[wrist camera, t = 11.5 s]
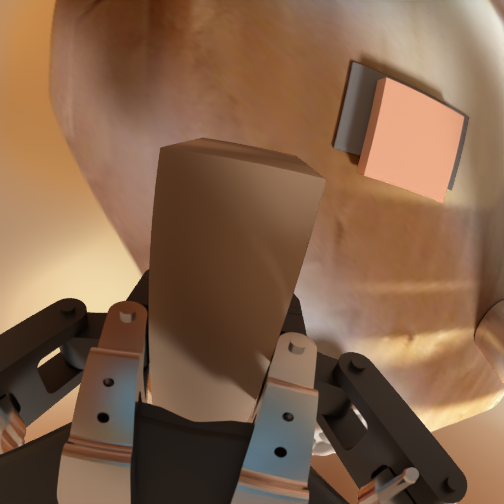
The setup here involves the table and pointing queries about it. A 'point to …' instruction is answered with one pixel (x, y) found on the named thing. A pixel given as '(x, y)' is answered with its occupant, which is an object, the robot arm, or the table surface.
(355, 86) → the mat
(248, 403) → the bar
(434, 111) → the tile
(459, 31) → the table surface
